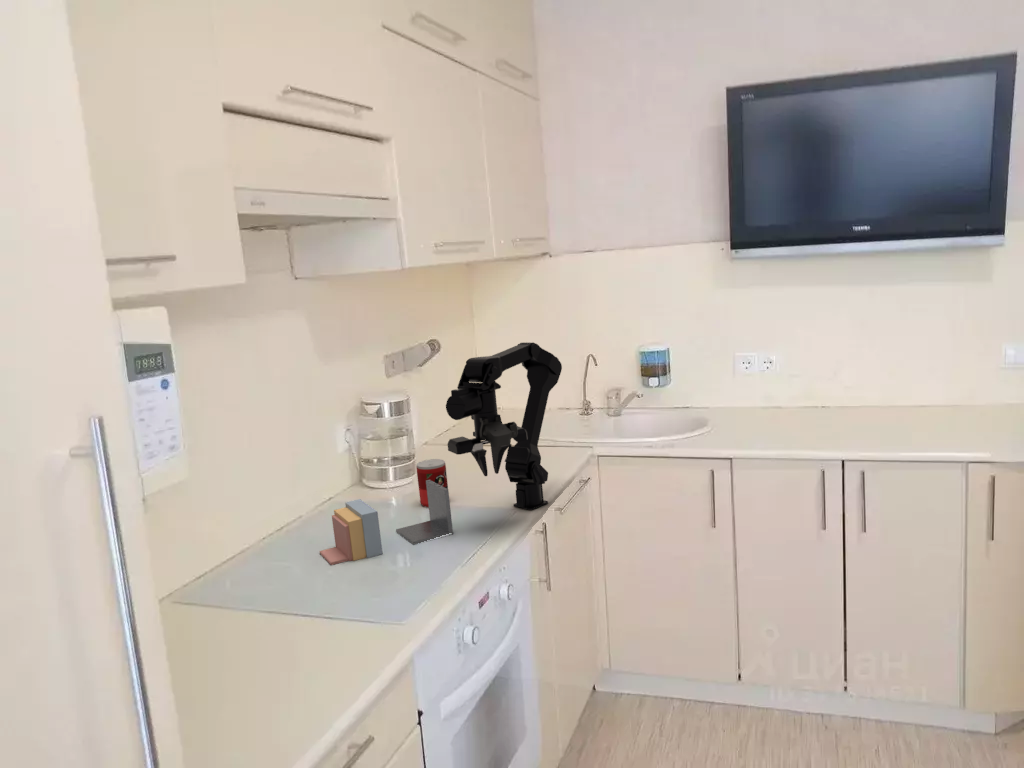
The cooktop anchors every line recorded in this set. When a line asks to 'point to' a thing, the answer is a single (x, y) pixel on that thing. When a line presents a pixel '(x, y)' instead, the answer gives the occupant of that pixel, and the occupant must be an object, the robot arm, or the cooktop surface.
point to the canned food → (430, 476)
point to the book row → (354, 533)
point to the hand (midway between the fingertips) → (491, 474)
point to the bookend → (431, 517)
